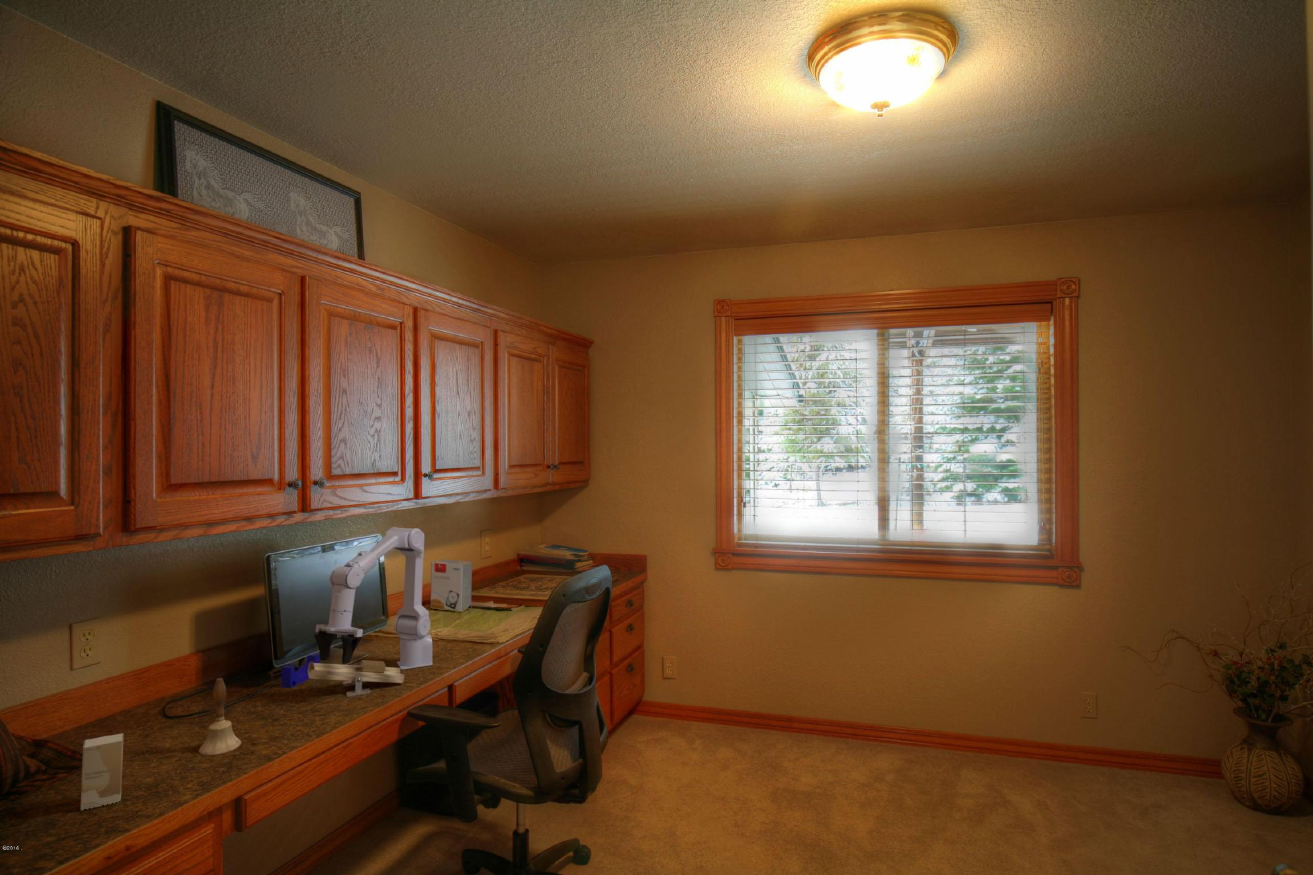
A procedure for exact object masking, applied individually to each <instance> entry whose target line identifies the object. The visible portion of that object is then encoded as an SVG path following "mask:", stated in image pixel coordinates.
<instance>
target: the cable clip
mask: <svg viewBox="0 0 1313 875" xmlns="http://www.w3.org/2000/svg"><path fill="white" fill-rule="evenodd" d="M310 662H313V663H320V654H312V653H310V654H307V656H306V662H305V664H303V665H300V666H299V668H298V670H295V668H296V667H295V665H283V666H281V679H280V680H281V684H280V686H281V688H286V689H287V688H288V689H291V688H293V687H296V686H297V685H299V684H302V683H304V682H305V681H308V680H310V679H309V676H308V666H309V663H310Z"/></svg>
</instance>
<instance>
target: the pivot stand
mask: <svg viewBox="0 0 1313 875" xmlns="http://www.w3.org/2000/svg"><path fill="white" fill-rule="evenodd" d="M363 684H367V681H362V675H358V676H355V681H352V680H345V681H343V682H342V687H349V686H354V690H352V691H346V693H345V694H346V697H348V698H349V697H355V696H361V695H368V694H371V689H370V688H363Z"/></svg>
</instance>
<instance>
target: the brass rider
mask: <svg viewBox="0 0 1313 875" xmlns="http://www.w3.org/2000/svg"><path fill="white" fill-rule="evenodd" d="M359 666H360V670H359V671H360V672H368V673H384V671H385V667H387V666H386V663H385V662H384V661H382V660H380V661H379V660H366V659H365V660H364V659H362V660H361V662H360V665H359Z"/></svg>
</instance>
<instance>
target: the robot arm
mask: <svg viewBox="0 0 1313 875" xmlns="http://www.w3.org/2000/svg"><path fill="white" fill-rule="evenodd" d="M393 549H395V550H397V551H398V552H400V553H401V554H402V555H403V556H404V557H405V560H404V561H405V562H404V563H405V565H404V583H403V584H404V587H403V606H402V607H401V608H400V609H399V610H397V612H396V619H395V621H394V631H395V633H396V634H397V635H398V638H400V644H399V646H400V648H399V649H400V651H399V652H400V654H399V657H400V658H399V660H398V661H397V662H396V663H397V665H398V666H399V667H398V668H401V670H402V671H403V670H408V669H409V670H410V669H416V668H422V667H429V666H433V639H432V636H431V634H429V632H430V629H431V620H430V611H429V610H428V609H426V608H425V607H424V606H423V605H422V604H423V602H422V601H423V580H424V579H423V576H424V554H425V553H424V552H425V533H424V532H423V531H422V530H421V529H420V528H418V527H415V528H410V527H397V526H392V527H390V528H389V529H388V530H386V531H385V532H384V536H383V537H382V538H381V539H380V540H379V541H378V542H377V543H376V544H375V545H374V546H373V547H372V548H371V549H369V550H360V551H358V552H357V555H356V556H355V557H353V558H352V559H351V560H349V561H347V562H346V563H345V565H343V566H342V565H339V566H337V567H336V568H335V569H333V571H331V575H329V578H328V580H329V582H330V585H331V590H330V591H331V593H332V594H331V604H330V611H329V618H328V624H323V623H322V624H321V623H320V624H316V625H315V626H316V627H315V634H314V639H315V642H316V644H317V647H318V652H319V661H322V662H323V661H328V660H329V657H330V652H331V647H332V644H333V641H334V639H335V636H336V635H343V636H342V637H341V638H340V639H341V644H342V657H341V665H347V664H350V662H351V661H352V658H353V655H354V652H355V650H356V649H357V647H358V645H359V643H360V642H361V641H362V640H363V632H364V630H363V628H358V627H353V626H352V620H353V612H354V605H355V597H356V590H357V587H359V586H360V585H361V584H362V581H363V579H364V577H365V575H367V574H368V573H369V572H370V571H371V570H373V569H374V568H375V567H376V566H377V564H378V560H379V559H381V558H382V557H383V556H385V555H387V553H390V552H391V551H392V550H393ZM401 670H400V671H401Z"/></svg>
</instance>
